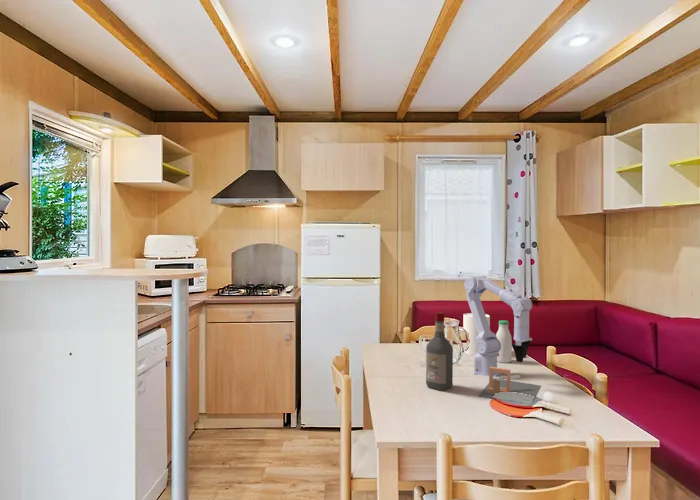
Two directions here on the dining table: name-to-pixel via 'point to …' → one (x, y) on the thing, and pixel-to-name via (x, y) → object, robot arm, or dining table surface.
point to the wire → (497, 382)
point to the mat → (513, 388)
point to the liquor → (439, 358)
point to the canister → (472, 332)
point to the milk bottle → (504, 342)
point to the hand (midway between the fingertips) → (521, 359)
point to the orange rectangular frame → (500, 370)
